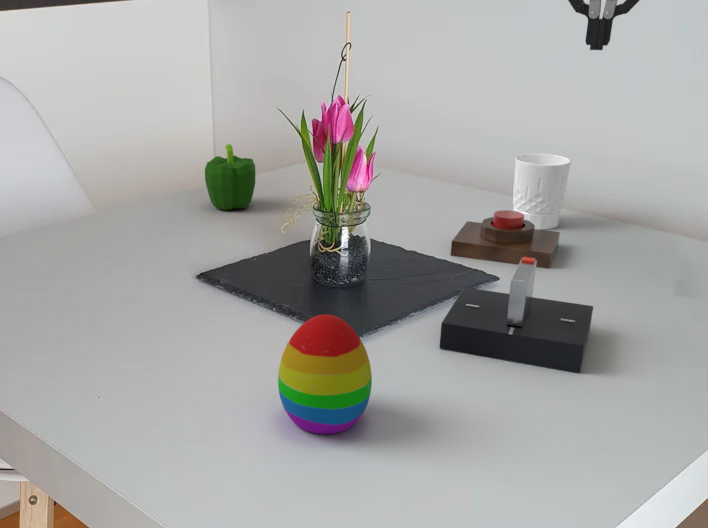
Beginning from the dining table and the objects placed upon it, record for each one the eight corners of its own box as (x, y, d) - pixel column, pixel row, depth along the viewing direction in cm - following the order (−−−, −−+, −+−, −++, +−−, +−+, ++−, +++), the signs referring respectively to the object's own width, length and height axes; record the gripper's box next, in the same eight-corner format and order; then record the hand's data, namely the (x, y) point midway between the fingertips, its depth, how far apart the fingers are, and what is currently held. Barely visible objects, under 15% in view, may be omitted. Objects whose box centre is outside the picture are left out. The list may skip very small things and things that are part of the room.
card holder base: (589, 330, 92) (593, 304, 91) (579, 373, 82) (584, 344, 81) (461, 310, 97) (464, 285, 96) (439, 348, 88) (441, 321, 87)
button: (524, 224, 116) (526, 212, 115) (520, 232, 113) (521, 219, 112) (495, 220, 118) (496, 208, 117) (490, 228, 114) (491, 216, 114)
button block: (558, 246, 118) (561, 219, 117) (549, 269, 110) (552, 240, 108) (465, 235, 123) (468, 209, 122) (450, 256, 115) (452, 228, 113)
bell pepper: (249, 215, 134) (248, 153, 130) (200, 212, 135) (198, 151, 132) (261, 201, 141) (261, 142, 137) (214, 198, 143) (213, 140, 139)
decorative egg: (388, 419, 75) (394, 316, 71) (326, 454, 69) (329, 346, 66) (321, 388, 80) (323, 291, 76) (259, 418, 75) (258, 316, 71)
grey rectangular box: (521, 327, 85) (527, 279, 83) (506, 324, 86) (511, 277, 84) (531, 303, 91) (537, 257, 89) (516, 300, 92) (521, 255, 90)
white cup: (506, 228, 126) (514, 163, 122) (509, 214, 133) (516, 152, 129) (561, 233, 124) (571, 167, 120) (562, 218, 131) (570, 155, 127)
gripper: (556, -101, 99) (538, 50, 106) (679, -105, 94) (652, 54, 101) (563, -98, 106) (546, 45, 112) (678, -102, 100) (653, 48, 107)
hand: (596, 49), depth 106 cm, fingers closed
